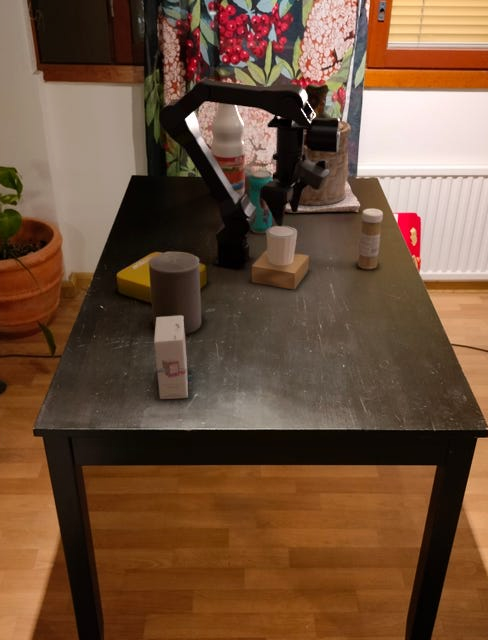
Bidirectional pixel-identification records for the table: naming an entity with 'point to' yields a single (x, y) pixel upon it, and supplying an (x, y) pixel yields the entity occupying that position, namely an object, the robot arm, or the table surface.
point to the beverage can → (260, 201)
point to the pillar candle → (176, 288)
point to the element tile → (144, 279)
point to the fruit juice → (229, 145)
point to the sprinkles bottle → (370, 238)
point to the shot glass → (281, 244)
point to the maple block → (280, 271)
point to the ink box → (171, 357)
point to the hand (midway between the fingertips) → (287, 218)
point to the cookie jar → (335, 187)
